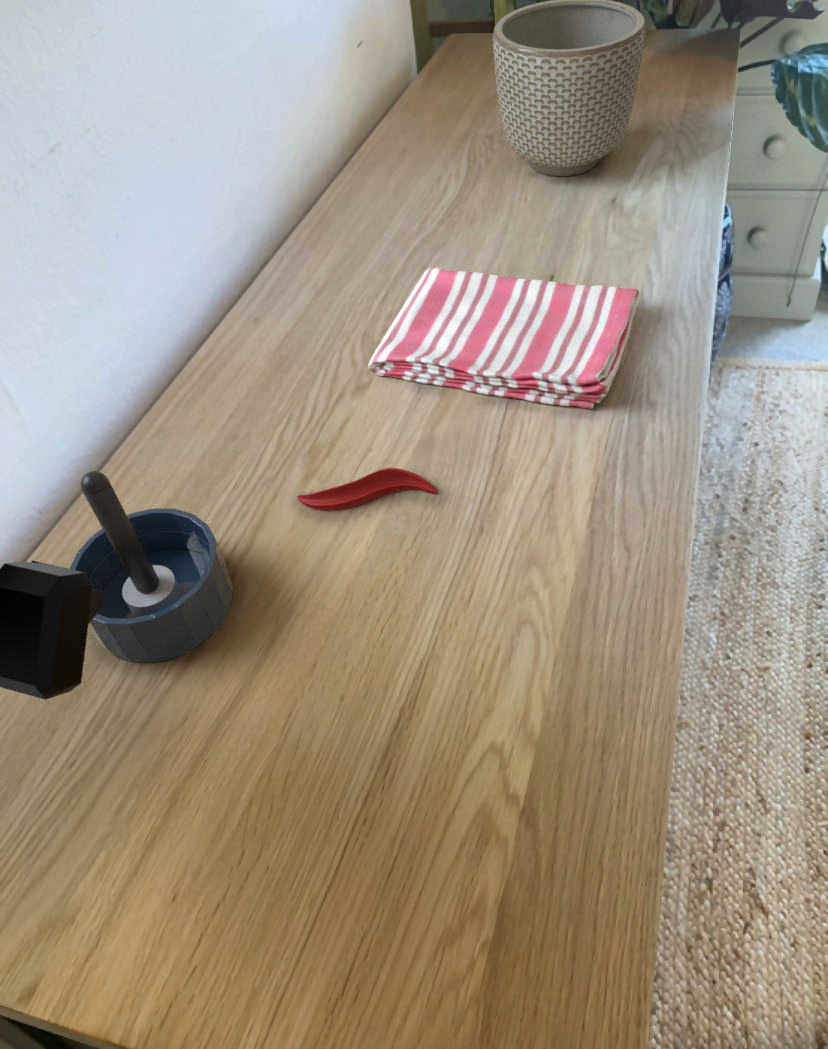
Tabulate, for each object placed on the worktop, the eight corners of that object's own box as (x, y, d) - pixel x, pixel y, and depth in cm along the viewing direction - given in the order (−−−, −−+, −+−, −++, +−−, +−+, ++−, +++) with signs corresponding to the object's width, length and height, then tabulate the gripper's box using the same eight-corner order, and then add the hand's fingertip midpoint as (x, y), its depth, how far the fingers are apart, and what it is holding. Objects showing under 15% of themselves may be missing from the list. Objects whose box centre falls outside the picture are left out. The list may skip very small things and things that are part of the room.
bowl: (71, 660, 64) (43, 621, 60) (120, 548, 71) (98, 507, 67) (212, 666, 62) (192, 626, 59) (247, 550, 70) (231, 509, 66)
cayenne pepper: (440, 474, 73) (438, 458, 72) (433, 514, 70) (431, 498, 69) (305, 470, 75) (301, 455, 74) (293, 509, 72) (288, 493, 71)
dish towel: (605, 414, 76) (608, 384, 74) (366, 377, 83) (361, 348, 81) (640, 307, 87) (643, 276, 84) (424, 281, 94) (421, 252, 91)
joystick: (152, 634, 64) (80, 506, 54) (122, 608, 66) (47, 479, 56) (194, 600, 66) (132, 470, 55) (163, 575, 68) (98, 445, 57)
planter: (510, 129, 117) (508, -2, 105) (639, 132, 112) (653, -4, 101) (482, 191, 106) (477, 52, 94) (624, 197, 102) (638, 52, 90)
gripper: (-23, 473, 34) (187, 478, 49) (-347, 411, 40) (-68, 432, 55) (-52, 739, 35) (162, 665, 50) (-365, 644, 41) (-86, 603, 55)
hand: (37, 583), depth 53 cm, fingers open, 9 cm apart
